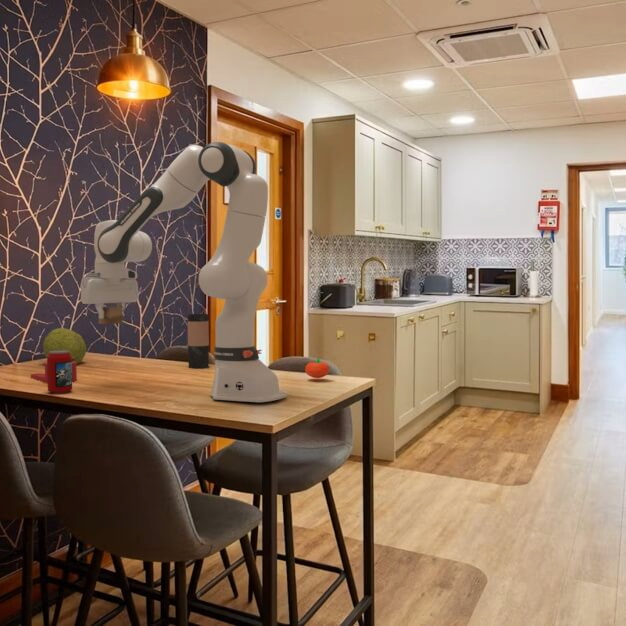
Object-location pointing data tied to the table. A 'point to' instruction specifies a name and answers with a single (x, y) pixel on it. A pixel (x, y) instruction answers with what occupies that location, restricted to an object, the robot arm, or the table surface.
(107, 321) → the walnut cube
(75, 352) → the fruit
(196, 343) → the travel mug
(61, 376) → the beverage can
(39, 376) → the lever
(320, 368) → the red tomato
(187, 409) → the table surface
